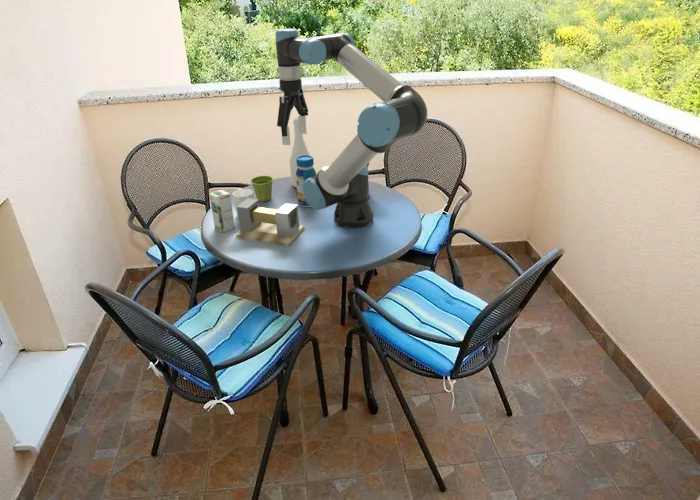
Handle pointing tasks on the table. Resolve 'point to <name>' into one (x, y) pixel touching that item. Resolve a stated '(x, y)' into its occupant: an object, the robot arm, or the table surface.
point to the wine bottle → (296, 151)
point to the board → (268, 234)
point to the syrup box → (222, 210)
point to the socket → (247, 215)
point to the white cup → (241, 196)
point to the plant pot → (262, 187)
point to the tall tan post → (263, 215)
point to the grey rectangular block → (287, 220)
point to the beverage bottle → (304, 176)
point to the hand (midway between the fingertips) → (295, 139)
